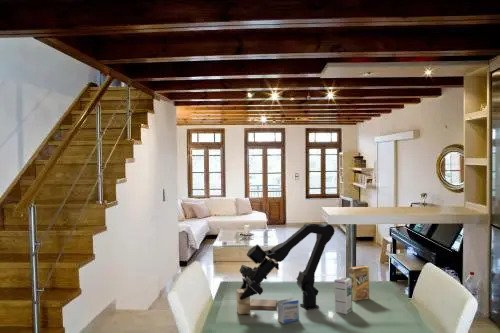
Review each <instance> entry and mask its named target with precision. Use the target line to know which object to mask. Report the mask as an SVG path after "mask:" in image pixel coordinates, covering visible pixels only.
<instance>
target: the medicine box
mask: <svg viewBox="0 0 500 333" xmlns="http://www.w3.org/2000/svg"><path fill="white" fill-rule="evenodd" d="M299 303H300V302H299V299H297V298H295V297H291V298H285V299H280V300H277V321H278V322H280V323H281V324H284V325H285V323H286V324H289V323H294V322H297V321H299V320H300V315H299V314H300V313H299V312H300V311H299V310H300V307H299V306H300V304H299Z"/></svg>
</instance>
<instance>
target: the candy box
mask: <svg viewBox="0 0 500 333" xmlns="http://www.w3.org/2000/svg"><path fill="white" fill-rule="evenodd" d="M348 276H349V277H348V278H351V280H352V301H354V302H355V301H361V300H362V301H363V300H368V299H370V266H367V265H364V264H363V265H355V266H350V267H348Z"/></svg>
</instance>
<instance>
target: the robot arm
mask: <svg viewBox="0 0 500 333" xmlns="http://www.w3.org/2000/svg"><path fill="white" fill-rule="evenodd" d="M335 232H336V230H335V227H334V226H333V225H331V224H329V223H326V222H321V223H319V224H318V223H309V222H307V223H305V224H303V226H301V227H300V228H299V229H298V230H297V231H296V232H295V233H293V234H292V235H291V236H289V237H288V238H287V239H286V240H285V241H283V242H280V243H278V244H276V245H275V246H273V247H271V248H270V249H266V250H264V249H262V248H261V246H260V245H259V244H258V243H257V244H256V245H254V246H252V247H250V248H249V250H248V251H247V253H246V256H247V257H248V258H249V259H250V260H251V262H253V263H254V264H256V265H258V264H259V265H258V266H254V267H253V268H252V267H251V266H246V265H244V264H241V265H240V268H239V270H238V271H239V273H240V274H241V276H242V283H241V286H240V288H239V289H245V288H246V289H245V291H244V292H243V294H242V295H241V297H240V299H241V300H243V299H245V298H247V297H249V296H250V297H252V296H254V295H257V294H258V295H259V296H261V295H262V294H263V292H264V288H262V284H261V283H262V282H263V281H264V280H267V279H268V277H267V276H268V275H269V274H270V273H271V272H272V271H273V269H274V268H275V269H276V270H277V271H279V270H280V268H279V266H280V265H279V264H280V263H281V262H283V261H285V259H286V258H287V256H288V255H289V253H290V252H291V250H292V249H294V247H296V246H297V245H298V244H300V243H301V242H302V241H303V240H304V239H305V238H306V237H308V236H309V235H310V234H315V235H316V239H315V243H314V246H313V248H312V251H311V253H310V256H309V259H308V261H307V263H306V266H305V269H304V270H303V271H300V270H299V273H298V276H297V277H296V279H295V280H296V284H297V286H298V288H300V290H301V292H302V303H300V304H299V306H301V307H302V308H303V309H306V310H312V309H317V308H320V306H319V305H318V304H317V296H318V294H319V290H318V289H317V288H316V287H315V278H316V277H315V274H316V272H317V269H318V266H319V264H320V261H321V259H322V255H323V254H324V250H325V248H326V246H327V244H328V243H329V242H330V241H331V240H332V238H333V237H334V235H335ZM267 257H268V258H267Z"/></svg>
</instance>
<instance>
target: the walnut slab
mask: <svg viewBox="0 0 500 333" xmlns="http://www.w3.org/2000/svg"><path fill="white" fill-rule="evenodd" d="M277 307H278V299H264V298H263V299H262V298H261V299H260V298H252V299H250V310H269V311H270V310H275V311H276V309H277Z"/></svg>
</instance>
